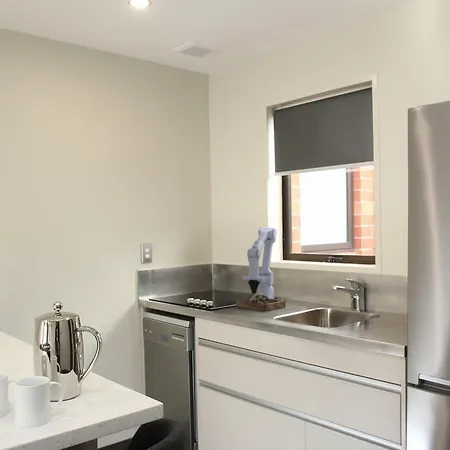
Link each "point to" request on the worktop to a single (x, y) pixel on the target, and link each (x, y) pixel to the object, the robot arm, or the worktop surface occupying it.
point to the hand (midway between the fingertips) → (253, 293)
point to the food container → (259, 298)
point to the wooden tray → (262, 305)
